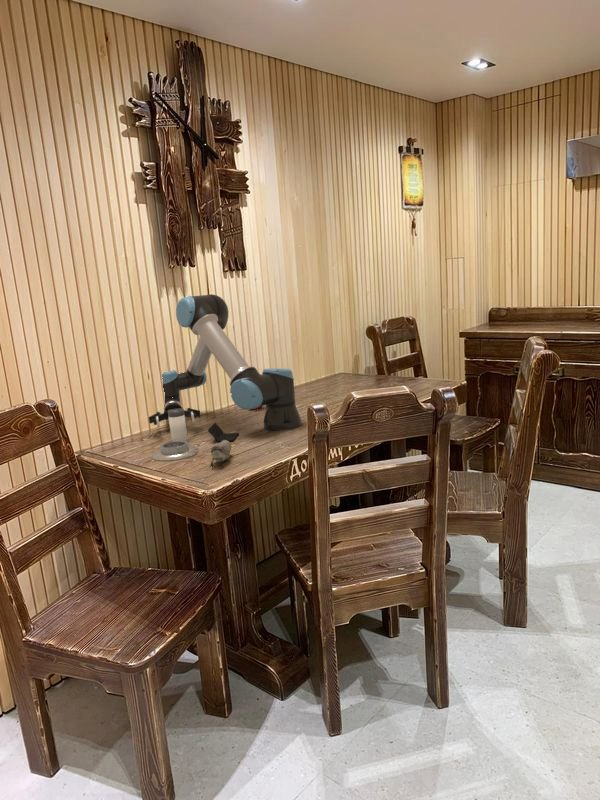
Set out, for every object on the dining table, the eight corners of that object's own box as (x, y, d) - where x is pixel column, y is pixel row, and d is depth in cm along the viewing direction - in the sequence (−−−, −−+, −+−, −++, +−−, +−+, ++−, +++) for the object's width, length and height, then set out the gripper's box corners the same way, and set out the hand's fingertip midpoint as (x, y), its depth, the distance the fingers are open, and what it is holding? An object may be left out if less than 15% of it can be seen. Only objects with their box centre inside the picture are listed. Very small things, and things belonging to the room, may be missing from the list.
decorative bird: (236, 454, 204) (233, 433, 202) (224, 469, 188) (221, 447, 187) (220, 455, 205) (218, 434, 203) (207, 470, 189) (205, 447, 188)
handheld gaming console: (238, 437, 220) (219, 417, 220) (224, 450, 220) (205, 431, 220) (240, 434, 232) (222, 415, 231) (227, 447, 232) (209, 428, 231)
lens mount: (207, 448, 214) (206, 439, 213) (180, 462, 200) (178, 452, 199) (171, 446, 221) (169, 437, 220) (142, 459, 207) (141, 450, 206)
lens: (190, 438, 230) (186, 408, 228) (181, 443, 225) (177, 412, 223) (178, 438, 233) (174, 408, 231) (168, 442, 228) (164, 412, 225)
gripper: (204, 415, 257) (208, 425, 236) (144, 423, 251) (144, 434, 231) (201, 398, 255) (206, 407, 235) (141, 405, 250) (141, 415, 229)
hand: (175, 420), depth 233 cm, fingers open, 13 cm apart
